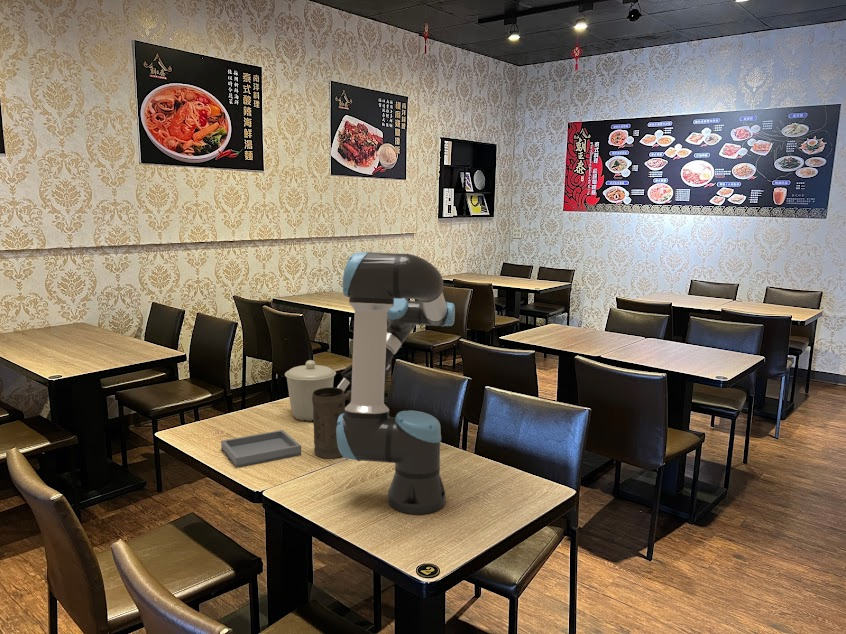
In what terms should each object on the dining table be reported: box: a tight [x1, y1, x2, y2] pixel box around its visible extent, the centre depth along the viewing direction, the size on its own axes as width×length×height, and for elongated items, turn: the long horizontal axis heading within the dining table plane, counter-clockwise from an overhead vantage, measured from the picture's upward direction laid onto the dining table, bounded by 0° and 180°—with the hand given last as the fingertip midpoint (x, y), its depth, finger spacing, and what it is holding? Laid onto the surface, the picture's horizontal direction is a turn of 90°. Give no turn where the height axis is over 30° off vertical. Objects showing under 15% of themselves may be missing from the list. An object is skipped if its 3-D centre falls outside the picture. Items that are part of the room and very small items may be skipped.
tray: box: [220, 429, 302, 469], centre depth 194 cm, size 16×20×3 cm
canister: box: [284, 359, 337, 422], centre depth 227 cm, size 18×18×21 cm
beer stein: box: [312, 387, 351, 459], centre depth 196 cm, size 15×11×20 cm
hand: (347, 401), depth 199 cm, fingers open, 13 cm apart
